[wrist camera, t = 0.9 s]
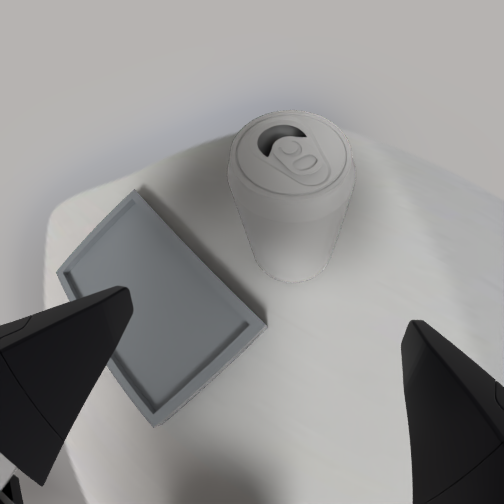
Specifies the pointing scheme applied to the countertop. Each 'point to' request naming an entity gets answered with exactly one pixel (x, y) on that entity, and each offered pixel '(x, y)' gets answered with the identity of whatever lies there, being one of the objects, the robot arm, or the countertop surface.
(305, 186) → the beverage can
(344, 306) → the countertop surface
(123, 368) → the tray
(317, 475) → the countertop surface
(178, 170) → the countertop surface
